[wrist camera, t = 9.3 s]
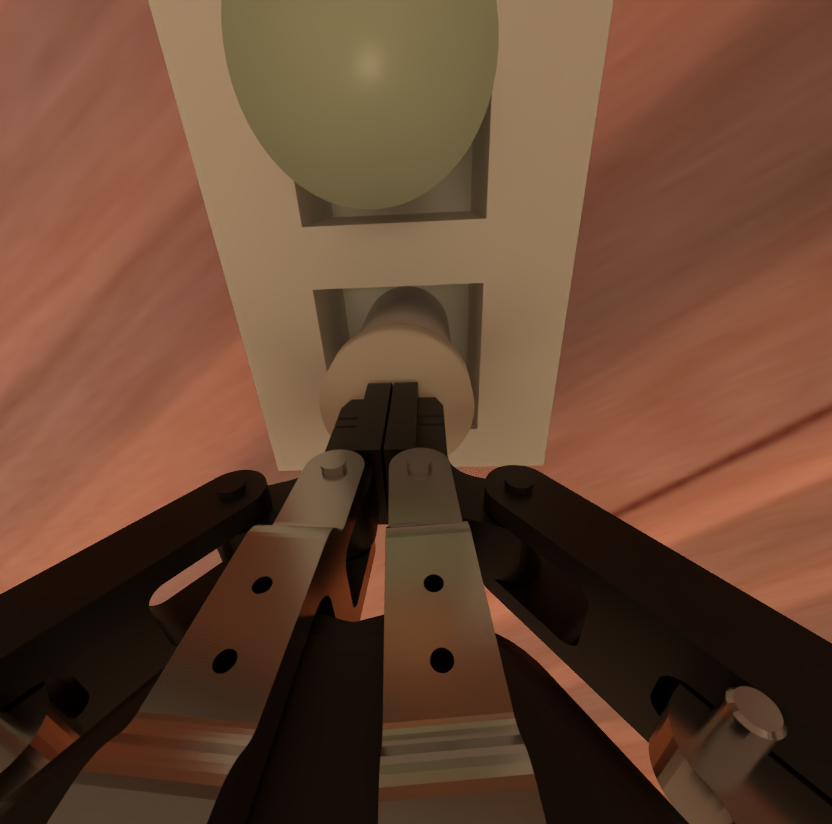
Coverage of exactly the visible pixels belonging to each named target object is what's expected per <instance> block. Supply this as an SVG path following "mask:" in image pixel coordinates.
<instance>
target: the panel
mask: <svg viewBox="0 0 832 824" xmlns="http://www.w3.org/2000/svg"><path fill="white" fill-rule="evenodd" d="M148 1H149V5H150V8H151V12H152V16H153V19H154V23H155V26H156V30H157V34H158V37H159V41H160V44H161V48H162V52H163V55H164V59H165V62H166V66H167V70H168V73H169V77H170V81H171V84H172V88H173V91H174V95H175V99H176V102H177V106H178V109H179V113H180V117H181V120H182V124H183V127H184V131H185V135H186V138H187V142H188V146H189V149H190V153H191V156H192V160H193V164H194V167H195V171H196V174H197V178H198V182H199V185H200V189H201V192H202V196H203V200H204V203H205V207H206V211H207V214H208V218H209V221H210V225H211V229H212V232H213V236H214V239H215V243H216V247H217V250H218V254H219V257H220V261H221V265H222V268H223V272H224V276H225V279H226V283H227V286H228V290H229V294H230V297H231V301H232V304H233V308H234V312H235V315H236V319H237V322H238V326H239V330H240V333H241V337H242V341H243V344H244V348H245V351H246V355H247V359H248V362H249V366H250V369H251V373H252V377H253V380H254V384H255V387H256V391H257V395H258V398H259V402H260V406H261V409H262V413H263V416H264V420H265V424H266V427H267V431H268V434H269V438H270V442H271V445H272V449H273V452H274V456H275V460H276V463H277V467H278V471H293V470H303V469H304V467H305V465H306V464H307V463H308V462H309V461H310V460H311V459H312V458H313V457H315V456H317V455H319V454H321V453H324V452H325V450H326V447H327V445H328V442H329V439H330V435H329V433H328V432H327V430H326V428H325V425H324V423H323V420H322V417H321V413H320V405H319V398H320V390H321V385H322V382H323V380H324V377H325V375H326V373H327V371H328V369H329V368H330V366H331V364H332V362H333V360H334V358H335V356H336V354H337V353H338V352H339V350H340V349H341V348H342V346H343V345H344V344H345V343H346V342H347V341H348V340H350V339H351V338H352V337H354V336H355V335H356V334H358V333H360V331H361V329H362V327H363V324H364V322H365V320H366V318H367V316H368V313H369V311H370V309H371V307H372V305H373V304H374V302H375V301H376V300H377V299H378V298H379V297H380V296H381V295H382V294H384V293H385V292H387V291H389V290H391V289H394V288H397V287H403V286H411V287H417V288H420V289H423V290H425V291H427V292H429V293H430V294H432V295H433V296H434V297H435V298H436V299H437V300H438V301H439V302H440V304H441V305H442V306H443V308H444V310H445V313H446V316H447V320H448V326H449V332H450V338H451V344H452V346H453V347H454V348H455V349H456V350H457V352H458V353H459V355H460V356H461V357H462V359H463V361H464V363H465V365H466V368H467V371H468V373H469V378H470V382H471V386H472V391H473V396H474V417H473V421H472V425H471V427H470V430H469V432H468V434H467V436H466V437H465V439H464V441H463V442H462V443H461V444H460V446H459V447H458V448H457V449H456V450H455V451H454V452H453V453H452V454H450V455H449V456H448V459H449V461H450V463H451V464H452V465H453V466H454V467H484V466H506V465H520V466H531V465H544V458H545V452H546V445H547V438H548V432H549V425H550V419H551V412H552V405H553V399H554V392H555V385H556V379H557V372H558V366H559V359H560V352H561V346H562V339H563V332H564V326H565V319H566V313H567V306H568V299H569V293H570V286H571V279H572V273H573V266H574V259H575V253H576V246H577V240H578V233H579V226H580V220H581V213H582V206H583V200H584V193H585V187H586V180H587V173H588V167H589V160H590V153H591V147H592V140H593V134H594V127H595V120H596V114H597V107H598V100H599V94H600V87H601V81H602V74H603V67H604V61H605V54H606V47H607V41H608V34H609V27H610V21H611V14H612V8H613V1H614V0H496V2H497V12H498V22H499V48H498V58H497V68H496V74H495V80H494V85H493V90H492V94H491V97H490V101H489V104H488V107H487V110H486V114H485V116H484V118H483V121H482V123H481V125H480V128H479V130H478V132H477V134H476V136H475V138H474V140H473V141H472V143H471V145H470V147H469V149H468V150H467V152H466V153H465V154H464V156H463V157H462V159H461V160H460V161H459V163H458V164H457V165H456V166H455V167H454V169H453V170H452V171H451V172H450V173H449V174H448V175H447V176H446V177H445V178H444V179H443V180H442V181H440V182H439V183H438V184H437V185H436V186H434V187H433V188H432V189H431V190H429V191H427V192H426V193H424V194H423V195H421V196H419V197H418V198H415V199H413V200H411V201H408V202H406V203H404V204H400V205H397V206H393V207H390V208H382V209H374V210H373V209H355V208H349V207H344V206H340V205H337V204H334V203H331V202H328V201H326V200H324V199H322V198H320V197H318V196H316V195H314V194H312V193H311V192H309V191H307V190H306V189H304V188H303V187H301V186H300V185H298V184H297V183H296V182H295V181H294V180H292V179H291V178H290V177H289V176H288V175H287V174H285V173H284V172H283V170H282V169H281V168H280V167H279V166H278V165H277V164H276V163H275V162H274V161H273V160H272V159H271V157H270V156H269V155H268V153H267V152H266V151H265V150H264V148H263V147H262V146H261V144H260V143H259V141H258V139H257V138H256V136H255V134H254V133H253V131H252V130H251V128H250V126H249V124H248V122H247V120H246V118H245V116H244V114H243V112H242V110H241V108H240V105H239V102H238V100H237V97H236V94H235V91H234V89H233V86H232V82H231V78H230V75H229V71H228V67H227V63H226V57H225V51H224V45H223V38H222V24H221V0H148Z"/></svg>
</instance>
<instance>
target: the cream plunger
mask: <svg viewBox="0 0 832 824" xmlns="http://www.w3.org/2000/svg"><path fill="white" fill-rule="evenodd" d="M394 382H418V393H419V398H421V397H436V398H437V399H438V400H439V401H440V402H441V404H442V405H443V409H444V420H445V432H446V443H447V454H448V456H449V455H450V454H452V453H453V452H454V451H455V450H456V449H457V448H458V447H459V446H460V444H461V443H462V442H463V441H464V439H465V437H466V436H467V434H468V432H469V430H470V427H471V425H472V421H473V417H474V396H473V391H472V386H471V382H470V378H469V373H468V371H467V368H466V365H465V363H464V361H463V359H462V357H461V356H460V355H459V353H458V352H457V350H456V349H455V348H454V347H453V346H452V344H451V338H450V332H449V326H448V320H447V316H446V313H445V310H444V308H443V306H442V305H441V304H440V302H439V301H438V300H437V299H436V298H435V297H434V296H433V295H432V294H430V293H429V292H427V291H425V290H423V289H420V288H417V287H411V286H403V287H397V288H394V289H391V290H389V291H387V292H385V293H384V294H382V295H381V296H380V297H379V298H378V299H377V300H376V301H375V302H374V304H373V305H372V307H371V309H370V311H369V313H368V316H367V318H366V320H365V322H364V324H363V327H362V329H361V331H360V333H358V334H356V335H355V336H354V337H352V338H351V339H350V340H348V341H347V342H346V343H345V344H344V345H343V346H342V348H341V349H340V350H339V352H338V353H337V354H336V356H335V358H334V360H333V362H332V364H331V366H330V368H329V369H328V371H327V373H326V375H325V377H324V380H323V382H322V385H321V390H320V398H319V405H320V413H321V417H322V420H323V423H324V425H325V428H326V430H327V432H328V433H329V435H330V437H331V434H332V431H333V429H334V428H335V423H336V421H337V420H338V415H339V413H340V410H341V408H342V407H343V406H344V405H346V404H347V403H348V402H349V401H350V400H352V399H364V396H365V392H366V389H367V385H368V383H392V384H393V385H394Z"/></svg>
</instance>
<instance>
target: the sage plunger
mask: <svg viewBox="0 0 832 824" xmlns="http://www.w3.org/2000/svg"><path fill="white" fill-rule="evenodd" d="M221 24H222V38H223V45H224V51H225V57H226V63H227V67H228V71H229V75H230V78H231V82H232V86H233V89H234V91H235V94H236V97H237V100H238V102H239V105H240V108H241V110H242V112H243V114H244V116H245V118H246V120H247V122H248V124H249V126H250V128H251V130H252V131H253V133H254V134H255V136H256V138H257V139H258V141H259V143H260V144H261V146H262V147H263V148H264V150H265V151H266V152H267V153H268V155H269V156H270V157H271V159H272V160H273V161H274V162H275V163H276V164H277V165H278V166H279V167H280V168H281V169H282V170H283V172H284V173H285V174H287V175H288V176H289V177H290V178H291V179H292V180H294V181H295V182H296V183H297V184H298V185H300V186H301V187H303V188H304V189H306V190H307V191H309V192H311V193H312V194H314V195H316V196H318V197H320V198H322V199H324V200H326V201H328V202H331V203H334V204H337V205H340V206H344V207H349V208H355V209H373V210H374V209H382V208H390V207H393V206H397V205H400V204H404V203H406V202H408V201H411V200H413V199H415V198H418V197H419V196H421V195H423V194H424V193H426V192H427V191H429V190H431V189H432V188H433V187H434V186H436V185H437V184H438V183H439V182H440V181H442V180H443V179H444V178H445V177H446V176H447V175H448V174H449V173H450V172H451V171H452V170H453V169H454V167H455V166H456V165H457V164H458V163H459V161H460V160H461V159H462V157H463V156H464V154H465V153H466V152H467V150H468V149H469V147H470V145H471V143H472V141H473V140H474V138H475V136H476V134H477V132H478V130H479V128H480V125H481V123H482V121H483V118H484V116H485V114H486V110H487V107H488V104H489V101H490V97H491V94H492V90H493V85H494V80H495V74H496V68H497V58H498V48H499V22H498V12H497V2H496V0H221Z"/></svg>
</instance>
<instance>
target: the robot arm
mask: <svg viewBox="0 0 832 824" xmlns="http://www.w3.org/2000/svg"><path fill="white" fill-rule="evenodd" d="M388 521H389V525H388V527H386V539H385V605H384V615H381V616H377V617H373V618H369V619H365V620H361V621H360V618H361V613H362V609H363V604H364V600H365V595H366V591H367V587H368V582H369V578H370V573H371V569H372V564H373V560H374V556H375V550H376V546H375V538H376V532H377V525H378V524H388ZM215 549H217V550H218V552H219V554H220V557H221V559H222V561H223V562H222V563H220V564H219V565H217V566H216V567H214V568H213V569H211V570H210V571H209V572H207V573H206V574H204V575H203V576H201V577H200V578H198V579H197V580H196V581H194V582H193V583H191V584H190V585H188V586H187V587H185V588H184V589H183V590H181V591H180V592H178V593H177V594H175V595H174V596H173V597H171V598H170V599H168V600H167V601H165V602H163V603H161V604H159V605H155V606H149V601H150V599H151V597H152V595H153V594H154V592H155V591H156V590H157V589H158V588H159V587H160V586H161V585H162V584H164V583H165V582H167V581H168V580H170V579H171V578H173V577H174V576H176V575H177V574H179V573H180V572H182V571H183V570H185V569H186V568H188V567H189V566H191V565H192V564H194V563H195V562H197V561H198V560H200V559H202V558H203V557H205V556H206V555H208V554H209V553H211V552H212V551H214V550H215ZM483 584H484V585H485V586H486V588H487V589H488V590H489V591H490V592H491V593H492V594H493V595H495V596H496V597H497V598H498V599H499V600H500V601H501V602H502V603H503V604H504V605H505V606H506V607H507V608H508V609H509V610H510V611H511V612H512V613H513V614H514V615H515V616H517V617H518V618H519V619H520V620H521V621H522V622H523V623H524V624H525V625H526V626H527V627H528V628H529V629H530V630H531V631H532V632H533V633H534V634H535V635H536V636H537V637H539V638H540V639H541V640H542V641H543V642H544V643H545V644H546V645H547V646H548V647H549V648H550V649H551V650H552V651H553V652H554V653H555V654H556V655H557V656H558V657H559V658H561V659H562V660H563V661H564V662H565V663H566V664H567V665H568V666H569V667H570V668H571V669H572V670H573V671H574V672H575V673H576V674H577V675H578V676H579V677H580V678H581V679H583V680H584V681H585V682H586V683H587V684H588V685H589V686H590V687H591V688H592V689H593V690H594V691H595V692H596V693H597V694H598V695H599V696H600V697H601V698H602V699H603V700H605V701H606V702H607V703H608V704H609V705H610V706H611V707H612V708H613V709H614V710H615V711H616V712H617V713H618V714H619V715H620V716H621V717H622V718H623V719H624V720H626V721H627V722H628V723H629V724H630V725H631V726H632V727H633V728H634V729H635V730H636V731H637V732H638V733H639V734H640V735H641V736H642V737H643V738H644V739H645V740H646V741H648V742H649V756H650V761H651V765H652V768H653V771H654V774H655V776H656V779H657V781H658V782H659V784H660V786H661V788H662V790H663V792H664V793H665V795H666V796H667V798H668V799H669V801H670V802H671V803H672V804H673V806H674V807H675V808H676V809H677V810H676V809H675V808H674V807H673V806H672V805H671V804H670V803H669V801H668V800H667V799H666V798H665V797H664V796H663V795H662V794H661V793H660V792H659V791H658V790H657V789H656V788H655V786H654V785H653V784H652V783H651V782H650V781H649V780H648V779H647V778H646V777H645V776H644V775H643V774H642V773H641V772H640V770H639V769H638V768H637V767H636V766H635V765H634V764H633V763H632V762H631V761H630V760H629V759H628V758H627V757H626V755H625V754H624V753H623V752H622V751H621V750H620V749H619V748H618V747H617V746H616V745H615V744H614V743H613V742H612V740H611V739H610V738H609V737H608V736H607V735H606V734H605V733H604V732H603V731H602V730H601V729H600V728H599V727H598V726H597V724H596V723H595V722H594V721H593V720H592V719H591V718H590V717H589V716H588V715H587V714H586V713H585V712H584V711H583V709H582V708H581V707H580V706H579V705H578V704H577V703H576V702H575V701H574V700H573V699H572V698H571V697H570V696H569V695H568V693H567V692H566V691H565V690H564V689H563V688H562V687H561V686H560V685H559V684H558V683H557V682H556V681H555V680H554V678H553V677H552V676H551V675H550V674H549V673H548V672H547V671H546V670H545V669H544V668H543V667H542V666H541V665H540V664H539V663H538V662H537V661H536V660H535V659H534V658H532V657H531V656H530V655H529V654H528V653H527V652H525V651H524V650H523V649H521V648H520V647H518V646H517V645H516V644H514V643H513V642H511V641H509V640H508V639H506V638H504V637H502V636H500V635H498V634H496V633H495V632H494V627H493V623H492V619H491V614H490V610H489V606H488V602H487V597H486V593H485V589H484V585H483ZM0 824H832V643H830V642H828V641H827V640H825V639H823V638H821V637H820V636H818V635H816V634H815V633H813V632H811V631H809V630H808V629H806V628H804V627H803V626H801V625H799V624H798V623H796V622H794V621H792V620H791V619H789V618H787V617H786V616H784V615H782V614H781V613H779V612H777V611H775V610H774V609H772V608H770V607H769V606H767V605H765V604H764V603H762V602H760V601H758V600H757V599H755V598H753V597H752V596H750V595H748V594H747V593H745V592H743V591H741V590H740V589H738V588H736V587H735V586H733V585H731V584H730V583H728V582H726V581H724V580H723V579H721V578H719V577H718V576H716V575H714V574H713V573H711V572H709V571H707V570H706V569H704V568H702V567H701V566H699V565H697V564H696V563H694V562H692V561H690V560H689V559H687V558H685V557H684V556H682V555H680V554H679V553H677V552H675V551H673V550H672V549H670V548H668V547H667V546H665V545H663V544H662V543H660V542H658V541H656V540H655V539H653V538H651V537H650V536H648V535H646V534H644V533H643V532H641V531H639V530H638V529H636V528H634V527H633V526H631V525H629V524H627V523H626V522H624V521H622V520H621V519H619V518H617V517H616V516H614V515H612V514H610V513H609V512H607V511H605V510H604V509H602V508H600V507H599V506H597V505H595V504H593V503H592V502H590V501H588V500H587V499H585V498H583V497H582V496H580V495H578V494H576V493H575V492H573V491H571V490H570V489H568V488H566V487H565V486H563V485H561V484H559V483H558V482H556V481H554V480H553V479H551V478H549V477H548V476H546V475H544V474H542V473H541V472H539V471H537V470H535V469H532V468H530V467H526V466H520V465H506V466H502V467H498V468H496V469H494V470H493V471H491V472H490V473H489V474H488V475H487V477H486V479H484V478H479V477H474V476H471V475H467V474H465V473H463V472H461V471H459V470H457V469H456V468H455V467H454V466H453V465H452V464H451V463H450V461H449V459H448V454H447V443H446V432H445V420H444V409H443V405H442V404H441V402H440V401H439V400H438V399H437V398H436V397H421V398H419V393H418V382H394V385H393V384H392V383H368V385H367V389H366V392H365V396H364V399H352V400H350V401H349V402H348V403H347V404H346V405H344V406H343V407H342V408H341V410H340V413H339V415H338V420H337V421H336V423H335V428H334V429H333V431H332V434H331V437H330V439H329V442H328V445H327V447H326V450H325V452H324V453H321V454H319V455H317V456H315V457H313V458H312V459H311V460H310V461H309V462H308V463H307V464H306V465H305V467H304V469H303V470H302V472H301V474H300V476H299V478H296V479H293V480H290V481H286V482H281V483H277V484H273V485H267V481H266V478H265V477H264V475H262V474H261V473H259V472H257V471H253V470H239V471H234V472H230V473H227V474H224V475H222V476H220V477H218V478H216V479H214V480H212V481H210V482H208V483H206V484H204V485H203V486H201V487H199V488H197V489H195V490H193V491H191V492H190V493H188V494H186V495H184V496H182V497H180V498H178V499H177V500H175V501H173V502H171V503H169V504H167V505H165V506H164V507H162V508H160V509H158V510H156V511H154V512H152V513H151V514H149V515H147V516H145V517H143V518H141V519H139V520H138V521H136V522H134V523H132V524H130V525H128V526H126V527H125V528H123V529H121V530H119V531H117V532H115V533H113V534H112V535H110V536H108V537H106V538H104V539H102V540H100V541H99V542H97V543H95V544H93V545H91V546H89V547H87V548H86V549H84V550H82V551H80V552H78V553H76V554H74V555H73V556H71V557H69V558H67V559H65V560H63V561H61V562H60V563H58V564H56V565H54V566H52V567H50V568H48V569H47V570H45V571H43V572H41V573H39V574H37V575H35V576H34V577H32V578H30V579H28V580H26V581H24V582H22V583H21V584H19V585H17V586H15V587H13V588H11V589H9V590H8V591H6V592H4V593H2V594H0Z"/></svg>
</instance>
